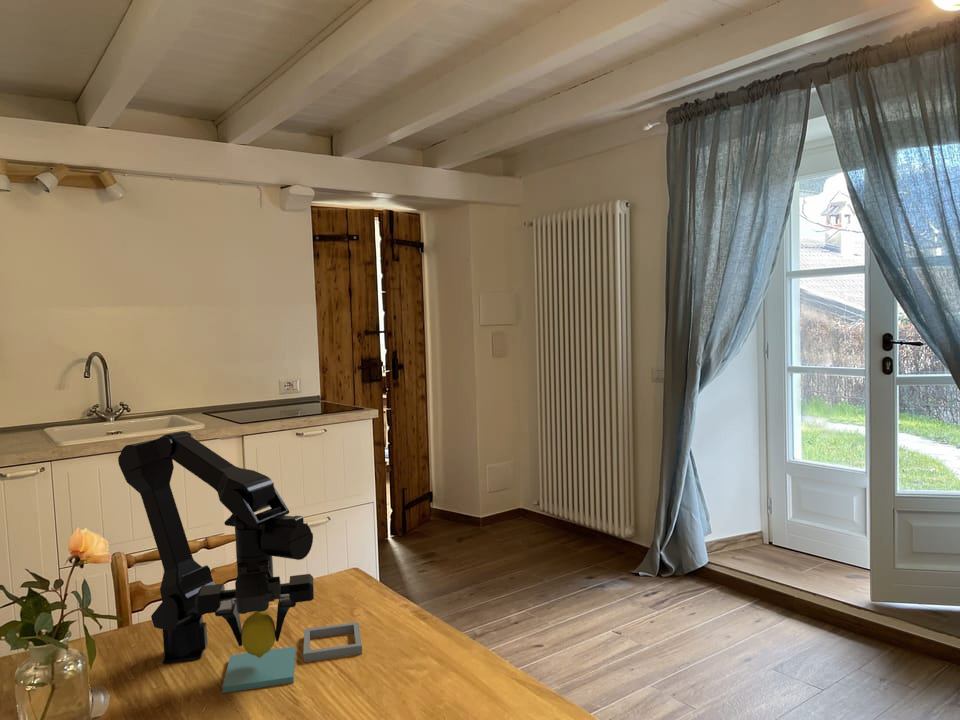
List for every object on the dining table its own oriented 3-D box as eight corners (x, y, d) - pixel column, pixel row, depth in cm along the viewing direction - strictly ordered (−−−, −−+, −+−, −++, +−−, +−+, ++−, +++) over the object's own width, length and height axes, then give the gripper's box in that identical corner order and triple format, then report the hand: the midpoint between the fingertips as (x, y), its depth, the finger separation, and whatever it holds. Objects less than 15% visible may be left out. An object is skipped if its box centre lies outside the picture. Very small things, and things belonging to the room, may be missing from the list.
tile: (222, 693, 110) (222, 687, 110) (230, 660, 121) (230, 655, 121) (293, 682, 113) (293, 676, 113) (295, 651, 124) (295, 646, 124)
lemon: (245, 668, 113) (242, 621, 113) (240, 654, 118) (237, 609, 118) (279, 660, 116) (277, 613, 115) (273, 646, 121) (271, 602, 120)
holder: (303, 662, 120) (303, 653, 120) (304, 637, 129) (304, 629, 129) (362, 653, 122) (361, 645, 122) (358, 629, 132) (358, 621, 132)
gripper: (185, 575, 106) (191, 674, 107) (311, 562, 110) (315, 657, 111) (198, 552, 117) (203, 642, 118) (311, 540, 121) (315, 627, 122)
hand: (259, 642), depth 117 cm, fingers closed on lemon, 5 cm apart
